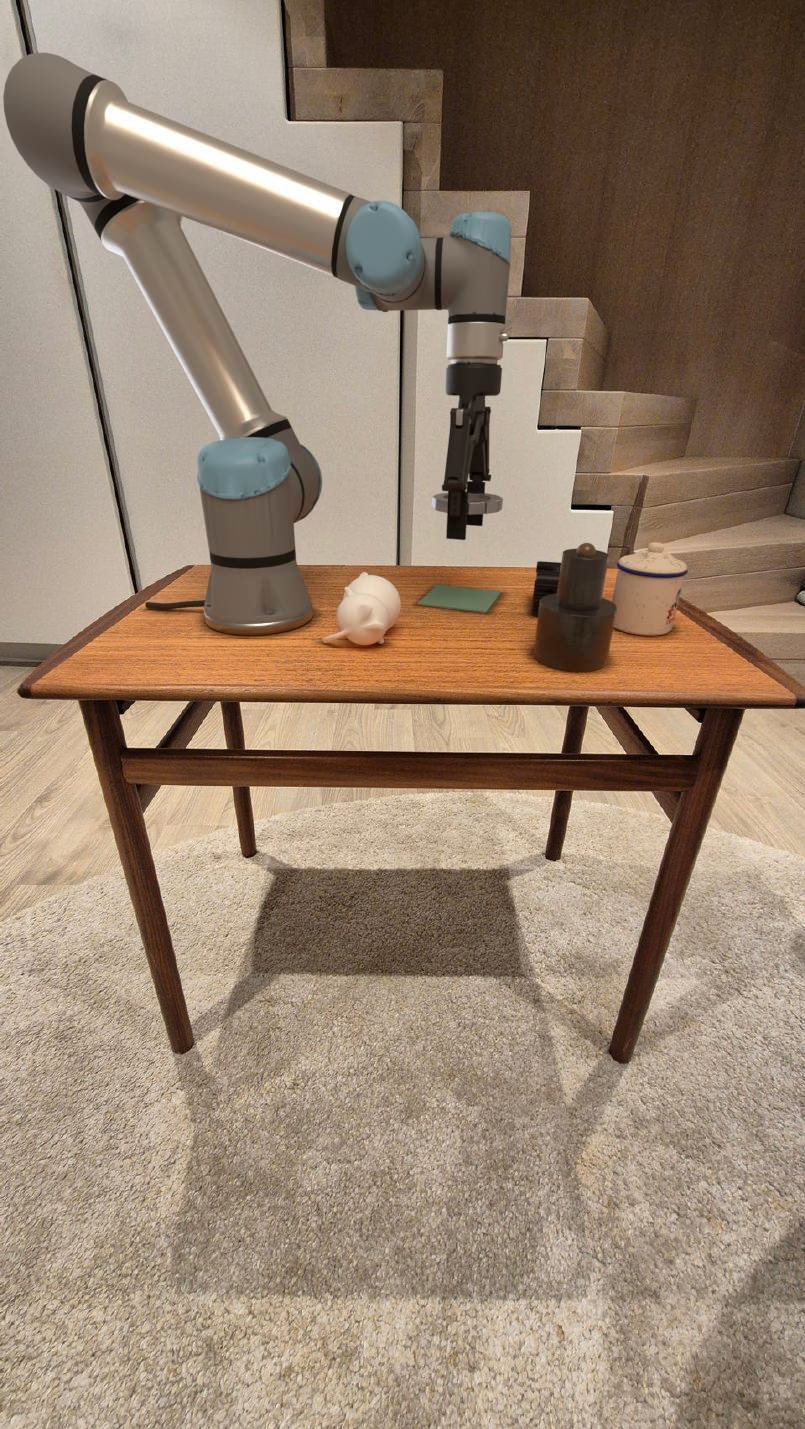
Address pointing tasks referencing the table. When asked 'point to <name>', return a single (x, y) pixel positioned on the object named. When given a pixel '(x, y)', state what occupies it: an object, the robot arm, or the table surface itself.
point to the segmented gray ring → (471, 503)
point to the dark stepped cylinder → (576, 615)
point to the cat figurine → (367, 610)
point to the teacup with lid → (648, 591)
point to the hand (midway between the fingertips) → (465, 531)
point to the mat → (460, 598)
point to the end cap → (545, 582)
